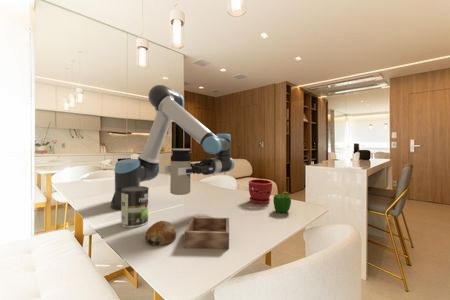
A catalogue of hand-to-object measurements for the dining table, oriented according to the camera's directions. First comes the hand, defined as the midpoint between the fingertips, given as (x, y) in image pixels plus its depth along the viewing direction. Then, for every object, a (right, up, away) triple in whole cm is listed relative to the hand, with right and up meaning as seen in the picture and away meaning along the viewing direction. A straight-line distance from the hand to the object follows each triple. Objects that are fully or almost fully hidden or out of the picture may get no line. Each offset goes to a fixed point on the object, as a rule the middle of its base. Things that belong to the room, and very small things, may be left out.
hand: (171, 170), depth 85 cm
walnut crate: (+15, -23, -10) cm, 29 cm away
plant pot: (+41, -22, +39) cm, 61 cm away
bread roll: (-1, -23, -11) cm, 25 cm away
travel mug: (+3, -10, +4) cm, 11 cm away
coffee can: (-16, -22, +4) cm, 27 cm away
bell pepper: (+49, -22, +22) cm, 58 cm away
